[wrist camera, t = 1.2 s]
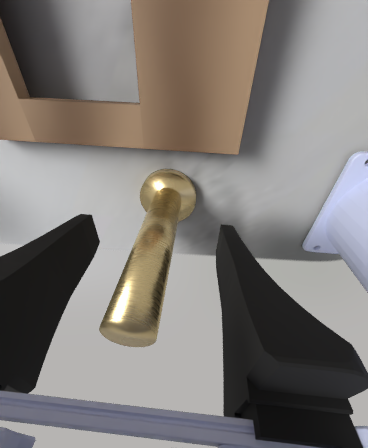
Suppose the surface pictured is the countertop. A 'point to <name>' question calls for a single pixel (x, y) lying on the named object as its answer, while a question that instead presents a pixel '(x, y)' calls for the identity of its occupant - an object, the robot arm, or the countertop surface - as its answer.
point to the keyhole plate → (156, 83)
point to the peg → (149, 261)
